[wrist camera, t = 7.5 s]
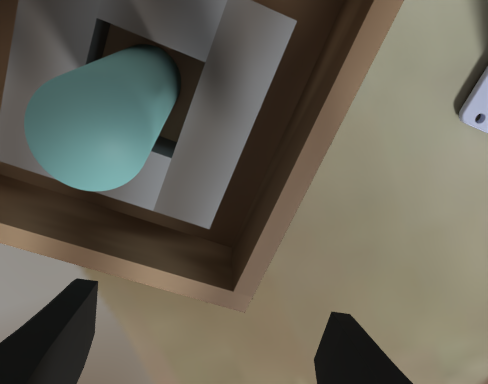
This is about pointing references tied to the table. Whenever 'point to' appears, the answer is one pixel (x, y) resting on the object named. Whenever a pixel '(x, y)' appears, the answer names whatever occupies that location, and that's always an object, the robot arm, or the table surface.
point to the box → (188, 132)
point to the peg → (102, 117)
